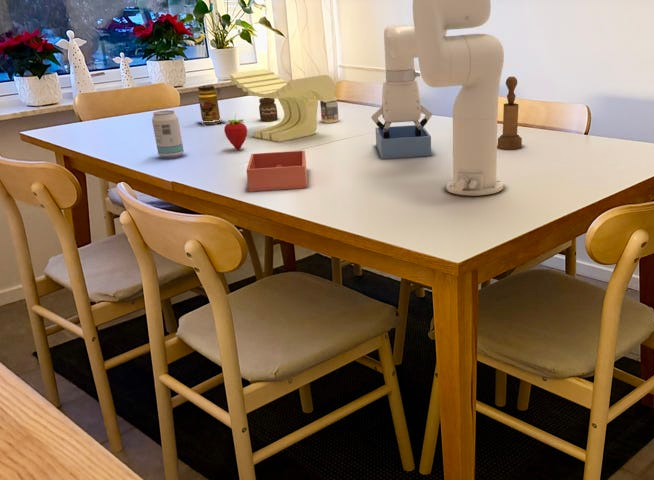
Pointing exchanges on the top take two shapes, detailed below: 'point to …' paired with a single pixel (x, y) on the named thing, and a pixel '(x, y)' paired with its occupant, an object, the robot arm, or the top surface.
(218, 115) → the condiment
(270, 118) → the dark brown jar
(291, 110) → the slatted curved stool
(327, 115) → the pill bottle
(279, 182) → the bin terracotta
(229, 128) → the strawberry
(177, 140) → the beverage can
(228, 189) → the top surface
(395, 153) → the bin blue
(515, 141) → the brown tall knobbed column
